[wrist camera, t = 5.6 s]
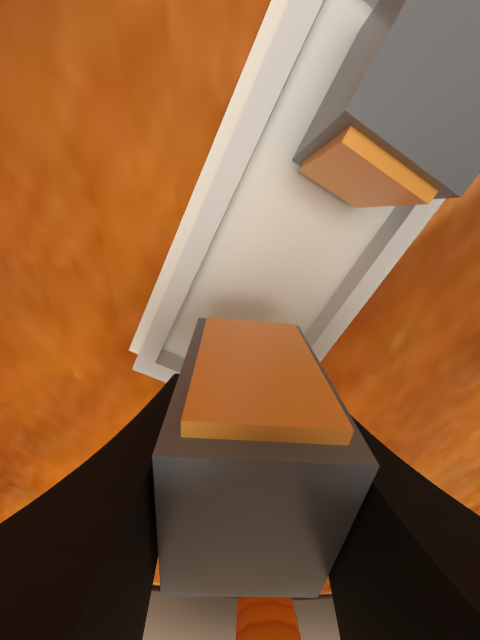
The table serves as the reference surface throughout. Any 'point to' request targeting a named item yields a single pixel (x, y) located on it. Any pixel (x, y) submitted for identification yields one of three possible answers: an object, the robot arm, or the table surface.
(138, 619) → the robot arm
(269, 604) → the carrot
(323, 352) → the white tray
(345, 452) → the grey block orange top
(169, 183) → the table surface
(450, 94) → the grey toy block
